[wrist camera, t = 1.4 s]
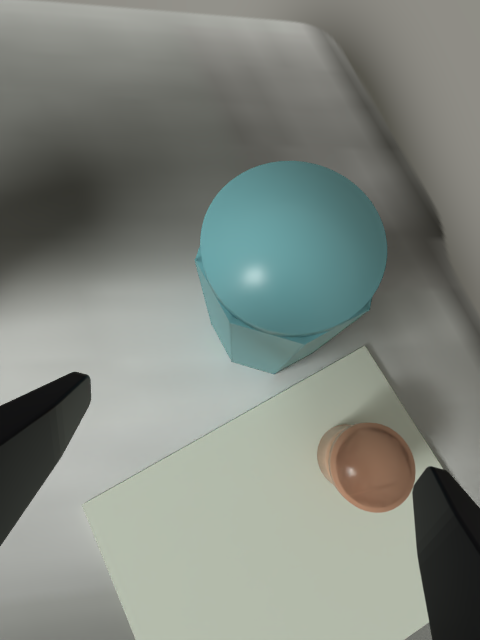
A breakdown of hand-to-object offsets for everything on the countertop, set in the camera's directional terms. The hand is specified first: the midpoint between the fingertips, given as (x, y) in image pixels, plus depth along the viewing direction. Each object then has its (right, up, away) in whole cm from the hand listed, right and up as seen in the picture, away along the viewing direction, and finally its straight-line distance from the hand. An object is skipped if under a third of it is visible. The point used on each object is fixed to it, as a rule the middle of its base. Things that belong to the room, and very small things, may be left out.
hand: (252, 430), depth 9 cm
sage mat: (+3, -9, +11) cm, 14 cm away
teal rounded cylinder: (+1, +3, +14) cm, 14 cm away
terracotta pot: (+6, -5, +12) cm, 14 cm away
